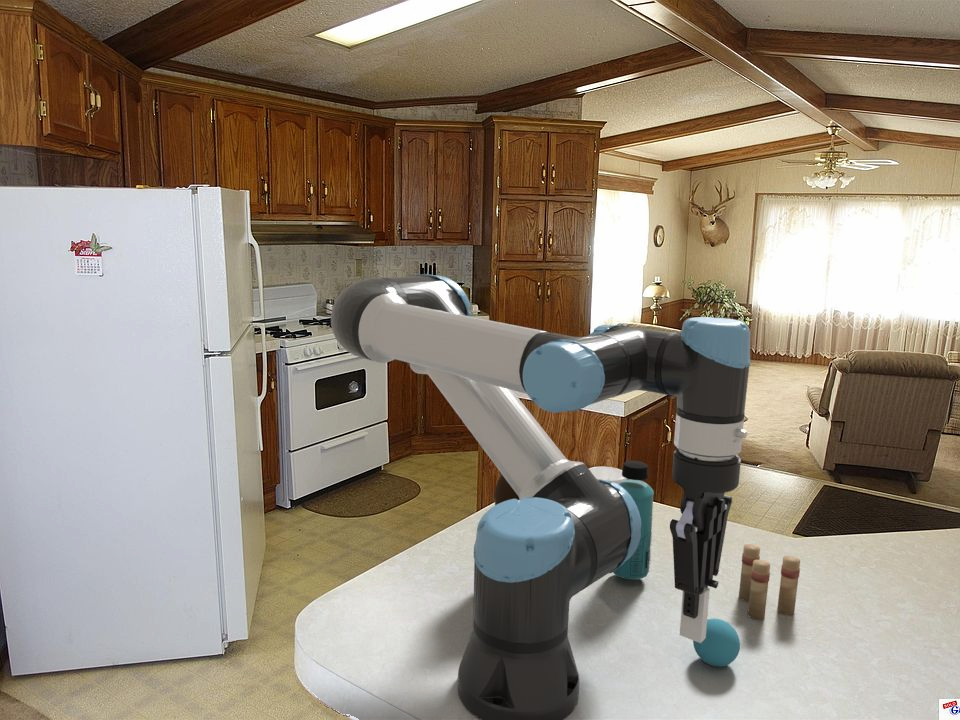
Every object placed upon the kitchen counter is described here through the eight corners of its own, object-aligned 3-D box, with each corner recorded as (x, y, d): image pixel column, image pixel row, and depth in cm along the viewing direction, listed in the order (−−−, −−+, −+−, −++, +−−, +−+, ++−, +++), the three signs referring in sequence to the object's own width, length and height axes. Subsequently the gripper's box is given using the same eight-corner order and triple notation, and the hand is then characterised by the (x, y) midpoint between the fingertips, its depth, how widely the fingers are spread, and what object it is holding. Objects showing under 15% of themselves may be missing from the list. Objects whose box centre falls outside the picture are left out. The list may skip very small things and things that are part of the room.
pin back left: (745, 602, 115) (750, 552, 113) (734, 594, 117) (739, 545, 115) (758, 600, 116) (764, 549, 114) (747, 592, 118) (752, 542, 116)
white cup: (614, 533, 139) (617, 483, 137) (576, 523, 143) (579, 474, 141) (630, 519, 146) (633, 471, 144) (593, 510, 150) (596, 463, 148)
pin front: (755, 621, 109) (760, 568, 108) (743, 612, 112) (748, 560, 110) (768, 618, 110) (774, 565, 109) (757, 609, 113) (762, 558, 111)
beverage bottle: (649, 590, 118) (658, 471, 114) (607, 585, 119) (614, 467, 115) (648, 572, 124) (657, 458, 120) (608, 567, 125) (615, 455, 121)
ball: (710, 679, 95) (714, 637, 94) (682, 654, 101) (685, 614, 99) (747, 671, 97) (752, 629, 96) (718, 646, 103) (722, 606, 101)
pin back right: (785, 616, 111) (791, 564, 109) (773, 608, 113) (778, 556, 112) (798, 613, 112) (804, 561, 110) (786, 605, 114) (792, 554, 113)
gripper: (716, 472, 78) (700, 673, 83) (759, 445, 88) (742, 625, 92) (652, 457, 83) (639, 647, 87) (699, 433, 93) (686, 605, 97)
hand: (692, 636), depth 90 cm, fingers closed
